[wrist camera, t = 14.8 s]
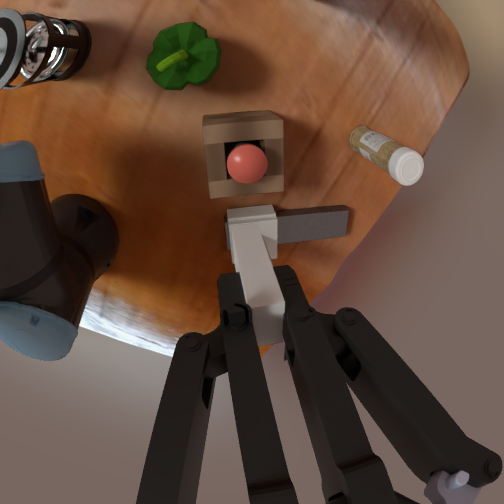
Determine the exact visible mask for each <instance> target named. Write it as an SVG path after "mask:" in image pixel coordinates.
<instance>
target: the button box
mask: <svg viewBox="0 0 504 504" xmlns="http://www.w3.org/2000/svg"><path fill="white" fill-rule="evenodd" d="M202 129H203V139H204V148H205V158H206V167H207V175H208V184H209V192H210V199H213V198H221V197H230V196H239V195H249V194H259V193H270V192H281V191H284V140H283V119H281V118H280V117H278V116H277V115H275V114H274V113H272V112H271V111H270V110H265V111H247V112H234V113H223V114H213V115H204V116H203V123H202ZM247 140H250V141H251V143H252V144H253V145H256V146H257V147H259V148H260V149H261V150H262V151H263V152H264V154H265V156H266V158H267V163H268V165H267V170H266V172H265V174H264V175H263V177H262V178H261V179H259V180H258V181H256V182H253V183H248V184H245V183H240V182H238V181H236V180H234V179H233V178H232V177H231V176H230V174H229V172H228V168H227V158H228V155H229V151H228V143H229V142H235V141H247Z"/></svg>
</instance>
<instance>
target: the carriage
mask: <svg viewBox="0 0 504 504" xmlns="http://www.w3.org/2000/svg"><path fill="white" fill-rule="evenodd" d="M226 210H227V219H228V227H229V237H230V246H231V257H232V263H233V264H235V263H234V252H233V240H232V229H231V226H234V225H242V224H251V223H257V225H258V227H259V230H260V233H261V236H262V239H263V241H264V244H265V247H266V250H267V253H268V256H269V258H270V261H271V259H276V258H277V217H276V213H275V211H274V208H273V206H272V205H262V206H253V207H243V208H234V209H226ZM271 264H272V261H271ZM272 267H273V264H272Z"/></svg>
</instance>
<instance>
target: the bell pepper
mask: <svg viewBox="0 0 504 504" xmlns="http://www.w3.org/2000/svg"><path fill="white" fill-rule="evenodd" d="M153 47H154V50H153V51H152V52H151V53H150V54H149V55H148V60H147V67H146V69H147V71H148V72H149V74H150V75H151V77H152V78H153V80H154V82H156V83H157V84H158V85H160V86H161V87H162V88H164V89H165V90H183V89H184V88H185V87H186V86H187V85H188V84H192V85H197V86H200V85H202V84H204V83H206V82H208V81H209V80H210V79H211V78H212V76H213V75H214V74H215V72H216V71H217V70H218V68H219V66H220V57H221V48H220V45H219V42H218V40H217V39H214V38H208V35H207V30H206V29H204V28H203V27H201V26H200V25H198V24H197V23H195V22H188V23H180V24H176V25H174V26H171V27H169V28H167V29H165V30H162V31H160V33H159V34H158V36H157V37H156V39H155V41H154V42H153Z"/></svg>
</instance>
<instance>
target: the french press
mask: <svg viewBox="0 0 504 504" xmlns="http://www.w3.org/2000/svg"><path fill="white" fill-rule="evenodd" d="M26 20H30V21H37V22H38V23H36V24H35V25H33V26H32V27H31V28H30V29H29V30H28V31H27V30H26V24H25V22H26ZM67 28H72V29H74V30H76V31H77V32H78V33H79V36H73V35H69V31H68V30H67ZM69 48H72V49H79V50H78V53H77V56H76V58H75V60H74V62H73V63H72V65H71V66H70V67H69V68H68V69H66V70H65V71H62V72H58V73H56V72H55V71H56V70H57V69H58V68H59V67H60V66H61V64H62V63H63V61H64V60H65V58H66V56H67V53H68V51H69ZM90 49H91V35H90V32H89V30H88V28H87V27H86V26H85V25H84V24H83V23H81V22H79V21H76V20H66V19H57V18H53V17H48V16H45V15H43V14H39V13H34V12H27V13H23V14H20V13H19V12H17V11H16V10H13V9H8V8H7V9H1V10H0V90H1V89H2V88H4V89H14V88H19V87H23V86H27V85H32V84H36V83H41V82H46V81H60V80H64V79H67V78H69V77H71V76H72V75H74V74H75V73H76V72H77V71H78V70H79V69H80V68H81V67H82V66H83V64H84V63H85V62H86V60H87V58H88V56H89V52H90ZM19 73H20V75H21V76H22V77H23V78H25V79H26V80H27V81H26V82H24V83H23V84H21V85H19V86H11V85H8V84H10V83H11V82H12V81H13V80H14V79H15V78H16V77H17V76H18V75H19ZM32 81H34V82H32Z"/></svg>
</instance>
